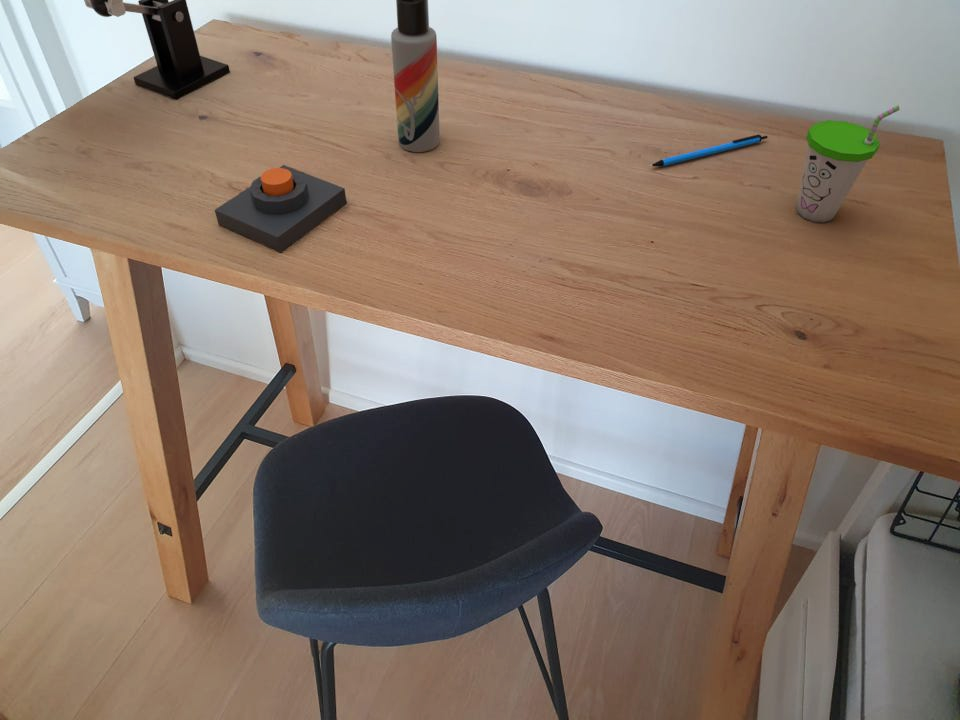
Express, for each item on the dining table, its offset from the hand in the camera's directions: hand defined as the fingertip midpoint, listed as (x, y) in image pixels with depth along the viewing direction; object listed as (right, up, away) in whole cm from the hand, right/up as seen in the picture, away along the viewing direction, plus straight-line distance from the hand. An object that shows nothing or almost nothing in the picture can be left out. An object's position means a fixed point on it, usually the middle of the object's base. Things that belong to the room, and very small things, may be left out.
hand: (106, 11), depth 104 cm
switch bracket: (+5, -4, +15) cm, 16 cm away
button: (+27, -27, -13) cm, 40 cm away
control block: (+27, -30, -11) cm, 41 cm away
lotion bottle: (+42, -18, +2) cm, 46 cm away
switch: (+2, +1, +4) cm, 5 cm away
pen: (+82, -20, 0) cm, 84 cm away
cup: (+93, -29, -9) cm, 98 cm away
